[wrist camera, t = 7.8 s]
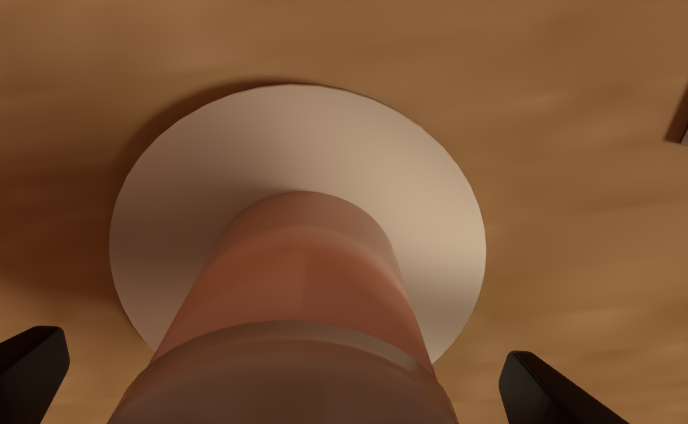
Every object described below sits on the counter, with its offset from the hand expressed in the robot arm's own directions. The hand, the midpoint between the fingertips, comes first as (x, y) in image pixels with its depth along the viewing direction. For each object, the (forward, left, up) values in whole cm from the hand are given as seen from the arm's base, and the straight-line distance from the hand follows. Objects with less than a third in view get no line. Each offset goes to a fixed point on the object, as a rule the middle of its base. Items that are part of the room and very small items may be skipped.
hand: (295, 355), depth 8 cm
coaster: (0, 0, -3) cm, 3 cm away
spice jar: (0, 0, -3) cm, 3 cm away
